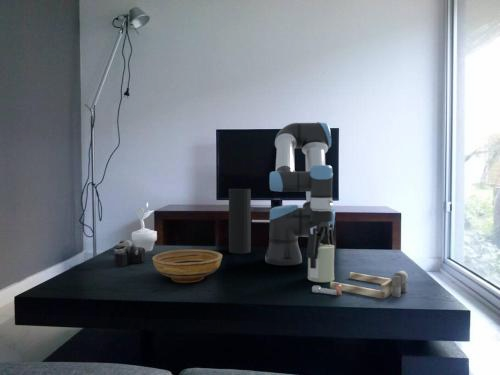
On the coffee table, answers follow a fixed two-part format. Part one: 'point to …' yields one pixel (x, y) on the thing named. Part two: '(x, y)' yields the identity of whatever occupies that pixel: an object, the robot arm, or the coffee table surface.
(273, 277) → the coffee table surface
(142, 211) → the potted plant
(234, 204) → the vase
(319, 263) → the can
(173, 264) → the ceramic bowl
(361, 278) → the wooden frame
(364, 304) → the coffee table surface
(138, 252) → the camera
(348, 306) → the coffee table surface
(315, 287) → the crank handle
